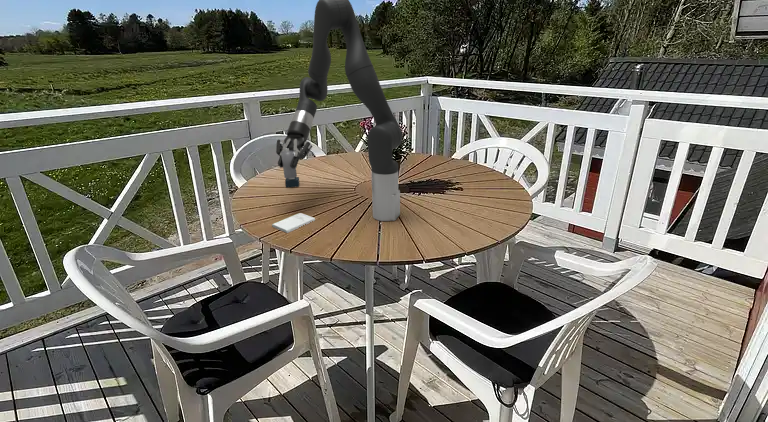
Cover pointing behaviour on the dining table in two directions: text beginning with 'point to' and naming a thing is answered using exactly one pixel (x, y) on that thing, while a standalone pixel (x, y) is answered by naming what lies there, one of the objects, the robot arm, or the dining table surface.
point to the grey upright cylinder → (288, 163)
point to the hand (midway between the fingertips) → (286, 166)
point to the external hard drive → (293, 222)
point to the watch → (292, 182)
